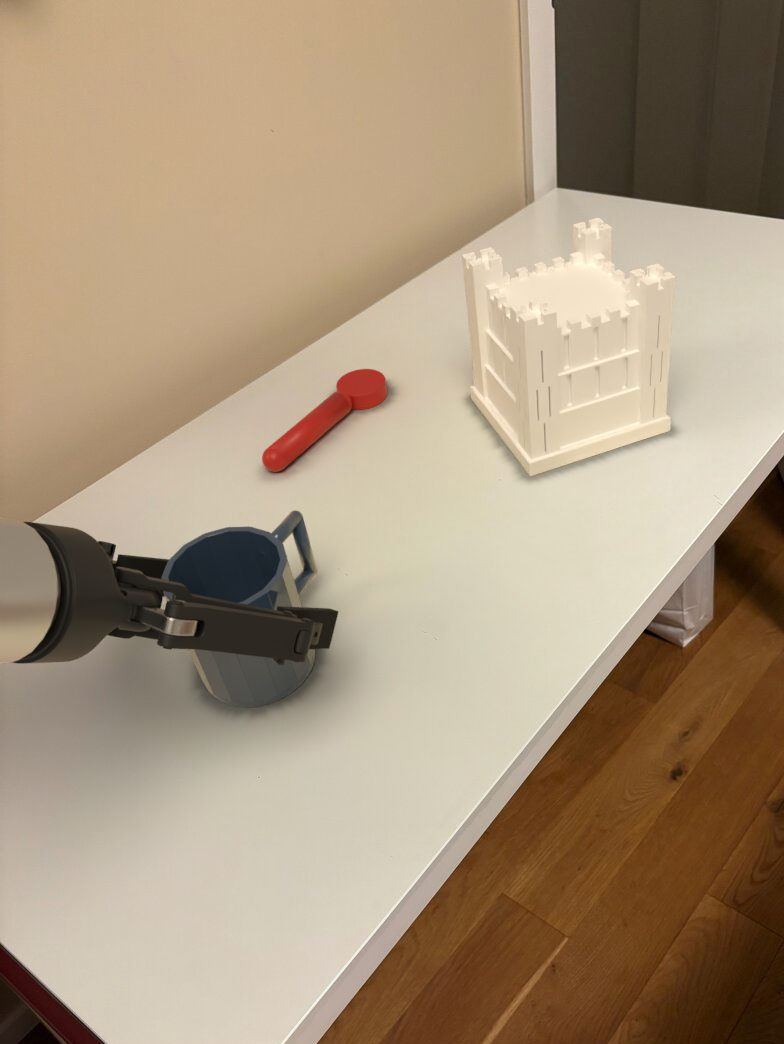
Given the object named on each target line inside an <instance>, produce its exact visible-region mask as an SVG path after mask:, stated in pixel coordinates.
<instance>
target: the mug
mask: <svg viewBox="0 0 784 1044" xmlns="http://www.w3.org/2000/svg"><path fill="white" fill-rule="evenodd" d="M291 535H292V537H293V542H294V544H295V547H296V551H297V554H298V558H299V562H300V564H301V567H302V569H301V570H300V571H299V572H298V574H297V575H296V576H295V577H294V575H293V571H292V567H291V565H290V563H289V559H288V555H287V552H286V549H285V546H284V543H285V542H286V540H287V539H288V538H289V537H290V536H291ZM317 574H318V566H317V563H316V559H315V555H314V552H313V548H312V545H311V540H310V538H309V533H308V529H307V526H306V523H305V519H304V515H303V513H302V512H301V511H299V510H295V509H294V510H292V511H290V512H289V513H288V514H287V516H285V517H284V519H283V520H281V522H280V523H279V524H278V525H277V526H276V527H275V529H274V530H273V531H272V532H270V531H267V530H264V529H260V528H257V527H253V526H225V527H223V528H219V529H215V530H211V531H208V532H205V533H202V534H200V535H199V536H197V537H195V538H193V539H192V540H190V541H188V542H187V543H185V544H183V545H182V546H181V547H180V548H179V549H178V550H177V551H176V552H175V553H174V554H173V555H172V556H171V557H170V558H169V561H168V563H167V565H166V567H165V570H164V572H163V574H162V577H161V579H163V580H168V581H173V582H178V583H181V584H184V585H185V586H186V587H187V588H188V589H189V591H190V593H191V594H196V595H201V596H206V597H211V598H216V599H221V600H226V601H232V602H237V603H242V604H247V605H252V606H257V607H262V608H267V609H272V610H277V606H281V607H303V606H302V602H301V597H300V595H301V594H302V593H303V592H304V590H305V589H306V588H307V587H308V586H309V584H310V583H311V582H312V580H313V579H314V578H315V577H316V576H317ZM163 594H164V596H165V597H164V598H165V601H166V602H167V601H172V597H173V593H171V592H166V591H163ZM187 650H188V652H189V654H190V657H191V659H192V661H193V663H194V665H195V668H196V670H197V672H198V675H199V677H200V679H201V682H202V684H204V686H205V687H206V689H207V692H209V693H210V695H211V696H213V697H214V698H215V699H216V700H218V701H219V702H222V703H223V704H225V705H229V706H231V707H232V706H233V707H238V708H255V707H263V706H266V705H270V704H272V703H276V702H278V701H279V700H282V699H284V698H286V697H287V696H289V695H291V694H292V693H293V692H294V691H296V690H297V689H298V688H299V687H300V686H301V685H302V684H303V683H304V682H305V681H306V680H307V678H308V677H309V675H310V673H311V671H312V670H313V667H314V664H315V660H316V649H309V651H308V654H307V658H306V662H294V661H292V660H286V663H285V665H278V663H276V662H275V660H273V659H274V658H267V657H258V656H250V655H241V654H233V653H225V652H216V651H208V650H199V649H187Z"/></svg>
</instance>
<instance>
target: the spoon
mask: <svg viewBox="0 0 784 1044" xmlns="http://www.w3.org/2000/svg"><path fill="white" fill-rule="evenodd" d="M335 387H336V391H334V392H333V393H331V394H330V395H329V396H328V397H327V398H326V399H324V400H323V401H322V402H321V403H320V404H318V405H317V406H316V407H314V409H313V410H311V411H309V412H308V414H306V415H305V416H304V417H302V419H300V420H299V421H298V422H297V423H296V424H294V425H293V426H292V427H290V429H288V430H287V431H286V432H285V433H283V435H281V436H280V437H279V438H278V439H276V440H275V441H274V442H273V443H272V444H270V445H269V446H268V447H267V448H265V449H264V451H263V453H262V456H261V461H262V465H263V466H264V468H265V469H266V470H268V471H270V472H272V473H273V472H274V473H278V472H281V471H283V470H284V469H286V467H288V466H289V465H290V464H291V463H292V462H293V461H295V459H297V458H298V457H299V456H301V454H303V453H304V452H305V451H306V450H307V449H309V448H310V447H311V446H312V445H313V444H314V443H315V442H317V441H318V440H319V439H320V438H322V437H323V435H325V434H326V433H327V432H328V431H329V430H331V428H333V427H334V426H336V424H338V423H339V422H340V421H341V420H342V419H343V418H344V417H345V416H347V415H348V414H349V413H350V412H351V410H366V409H370V408H374V407H376V406H378V405H380V404H381V403H383V402H384V401H385V399H387V396H388V387H387V381H386V376H385V375H384V374H383V373H382V372H381V371H379V370H378V369H372V368H361V369H354V370H352V371H349V372H346V373H345V374H344V375H342V376H341V377H339V379H338V380H337V382H336V385H335Z"/></svg>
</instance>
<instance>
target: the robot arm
mask: <svg viewBox="0 0 784 1044" xmlns="http://www.w3.org/2000/svg"><path fill="white" fill-rule="evenodd" d="M116 548H117V544H115V543H112V542H108V541H107V542H106V541H103V540H96V539H95V538H94V537H93V536H92V535H90V534H88V533H87V532H86V531H83V530H81V529H79V528H75V527H72V526H63V525H56V524H48V523H40V522H33V521H22V520H19V519H14V518H11V517H4V516H0V664H10V663H13V664H19V665H20V664H21V665H23V664H45V663H46V664H47V663H49V664H50V663H67V662H71V661H75V660H78V659H80V658H83V657H84V656H86V655H88V654H89V653H90V652H92V651H93V650H94V649H95V648H96V647H98V645H100V643H101V642H102V641H103V640H104V639H105V638H106V637H107V636H109V637H113V638H114V637H115V638H119V639H124V640H126V639H127V640H128V639H131V638H133V637H139V638H145V639H150V640H156V645H158V646H159V647H162V648H163V649H165V650H170V651H171V650H188V649H199V650H208V651H216V652H225V653H233V654H241V655H250V656H258V657H267V658H274V659H273V660H275V662H276V663H278V665H285V663H286V660H292V661H294V662H306V658H307V654H308V651H309V649H315V650H322V649H323V650H325V649H326V650H327V649H328V650H329V649H330V648H331V644H332V640H333V635H334V632H335V628H336V625H337V620H338V616H339V612H340V611H339V610H336V609H333V608H328V607H327V608H326V607H306V606H305V607H304V606H302V607H281V606H277V610H272V609H267V608H262V607H257V606H252V605H247V604H242V603H237V602H232V601H226V600H221V599H216V598H211V597H206V596H201V595H196V594H191V593H190V591H189V589H188V588H187V587H186V586H185V585H184V584H181V583H178V582H173V581H168V580H163V579H161V577H162V574H163V572H164V570H165V567H166V565H167V563H168V561H169V559H170V558H169V559H168V558H160V557H159V558H158V557H150V556H140V555H139V556H138V555H129V554H121V553H120V554H119V553H118V554H117V558H116V560H114V558H115V557H114V556H115V552H116ZM163 591H166V592H171V593H173V597H172V601H166V603H165V608H164V609H162V604H163V600H164V598H165V596H164V594H163Z"/></svg>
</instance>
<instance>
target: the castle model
mask: <svg viewBox="0 0 784 1044" xmlns="http://www.w3.org/2000/svg"><path fill="white" fill-rule="evenodd" d="M587 221H588V223H586V222H584V221H580V222H577V223H574V224H572V235H573V236H572V249H573V250H572V252H571V253H569V261H566V262H565V259H564V258H563V257H562V256H557V257H554V258H551V266H548V267H547V264H546V263H545V262H544V261H540V262H536V263H533V271H531V272H529V269H528V268H526V266H522V267H519V268H515V276H514V277H511V275H510V274H509V272H507V271H504V265H503V257H502V256H501V255H499V253H496V251H495V249H494V248H493V247H492V246H489V247H485V248H482V249H479V250H478V252H479V257H478V258H477V254H476V253H475V252H474V251H471V252H468V253H464V254H461V261H462V271H463V282H464V293H465V302H466V313H467V324H468V332H469V333H468V334H469V342H470V343H469V345H470V355H471V364H472V374H473V375H472V376H473V385H470V386H469V389H470V399H471V401H472V402H473V404H475V406H476V407H477V408H478V410H479V411H480V412H481V414H482V415H483V416H484V418H485V419H486V420H487V421H488V423H489V425H491V427H492V428H493V429H494V431H495V432H496V433H497V435H498V436H499V438H500V439H501V440H502V441H503V443H504V444H505V446H506V447H507V448H508V450H509V451H510V452H511V453H512V455H513V456H514V457H515V459H516V460H517V461H518V463H519V464H520V465H521V467H522V468H523V469H524V470H525V472H526V473H527V474H528V476H529V477H532V476H533V477H534V476H536V475H540V474H543V473H545V472H548V471H551V470H554V469H557V468H561V467H564V466H567V465H570V464H572V463H576V462H579V461H582V460H585V459H588V458H592V457H594V456H597V455H600V454H603V453H606V452H609V451H613V450H616V449H618V448H622V447H624V446H629V445H631V444H634V443H638V442H640V441H643V440H646V439H650V438H652V437H656V436H658V435H661V434H665V433H667V432H670V431H671V425H672V417H671V416H670V415H669V414H668V413H667V405H668V404H667V403H668V389H669V377H670V376H669V374H670V361H671V349H672V333H673V321H674V320H673V319H674V318H673V317H674V305H675V291H676V278H677V277H676V276H675V275H673V274H672V273H671V272H670V271H666V268H664V267H663V266H662V265H661V264H659V263H658V262H657V263H653V264H650V265H647V266H646V274H645V269H643V268H641V267H640V268H636V269H633V270H630V271H629V277H627V278H625V277H626V273H625V272H624V271H623V270H622V269H616V264H614V263H613V262H612V244H613V243H612V238H613V235H612V234H613V227H612V226H610V225H609V224H608V223H605V221H604V220H603V219H601V218H600V217H595V218H591V219H588V220H587ZM587 225H588V227H587Z"/></svg>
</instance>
